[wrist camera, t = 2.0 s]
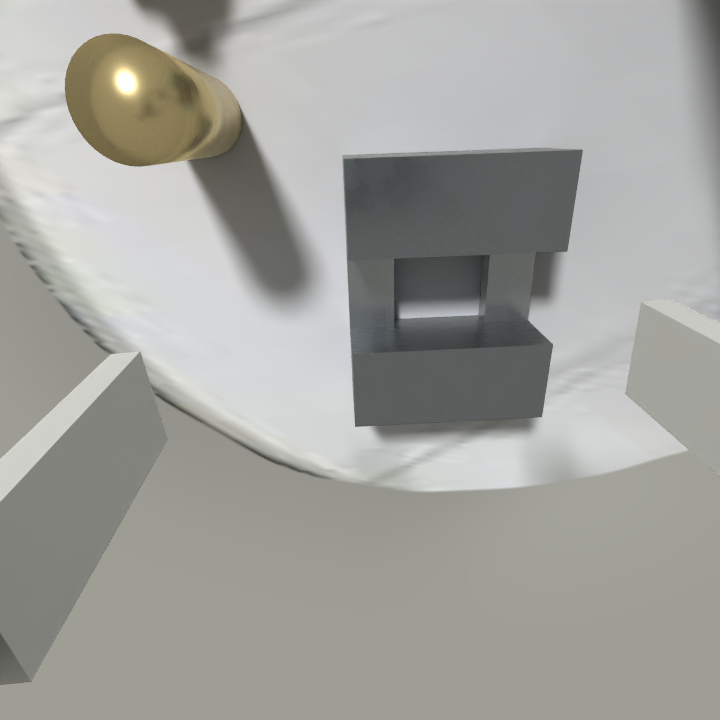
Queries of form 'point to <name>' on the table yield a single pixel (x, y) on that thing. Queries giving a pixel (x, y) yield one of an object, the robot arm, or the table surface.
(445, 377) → the jig
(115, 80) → the gold metal cylinder
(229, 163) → the table surface
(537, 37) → the table surface
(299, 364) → the table surface
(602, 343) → the table surface
